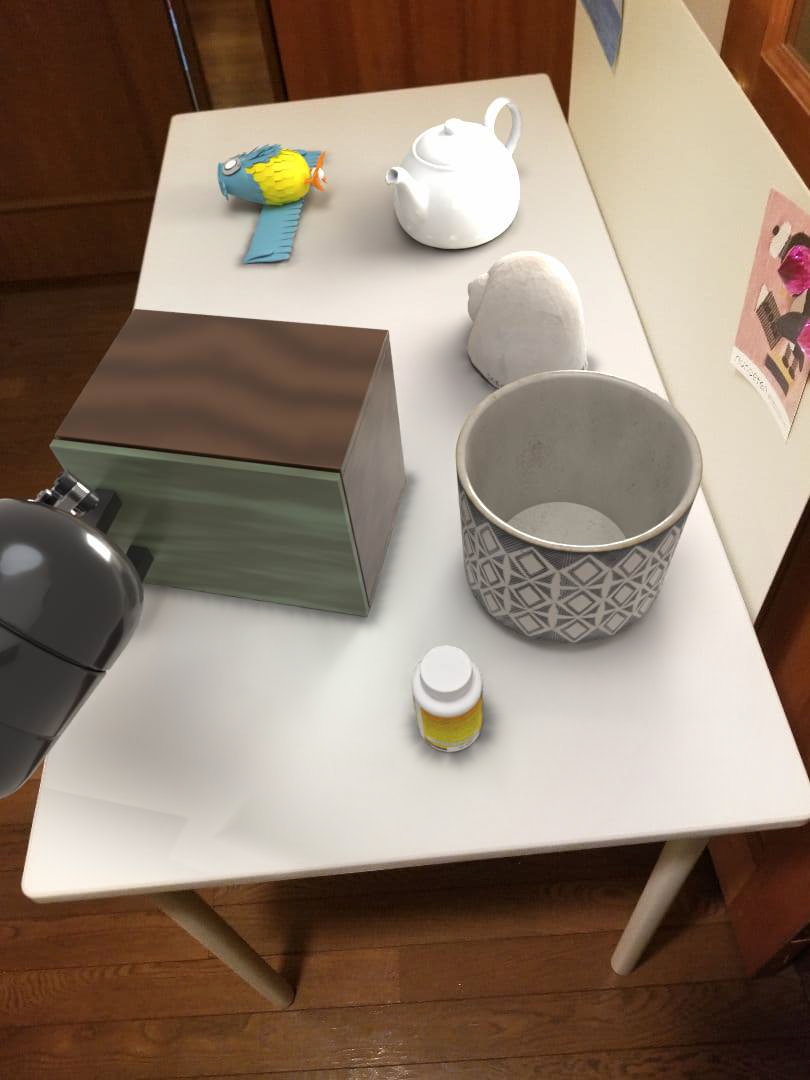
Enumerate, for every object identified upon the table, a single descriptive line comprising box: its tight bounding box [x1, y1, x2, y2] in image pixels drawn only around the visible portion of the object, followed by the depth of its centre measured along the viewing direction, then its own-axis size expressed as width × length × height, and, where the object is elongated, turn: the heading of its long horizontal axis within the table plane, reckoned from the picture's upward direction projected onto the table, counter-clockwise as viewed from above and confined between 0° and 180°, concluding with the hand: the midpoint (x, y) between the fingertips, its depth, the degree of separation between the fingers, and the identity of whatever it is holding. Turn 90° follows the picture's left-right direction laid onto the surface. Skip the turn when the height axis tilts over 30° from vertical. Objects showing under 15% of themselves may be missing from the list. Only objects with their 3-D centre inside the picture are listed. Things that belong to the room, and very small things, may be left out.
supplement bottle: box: [411, 644, 484, 753], centre depth 65 cm, size 6×6×10 cm
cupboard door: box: [48, 438, 370, 617], centre depth 68 cm, size 7×24×20 cm, turn 78°
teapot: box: [384, 96, 523, 250], centre depth 108 cm, size 19×18×14 cm
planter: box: [455, 370, 704, 644], centre depth 71 cm, size 19×19×16 cm
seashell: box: [467, 250, 589, 389], centre depth 93 cm, size 15×14×15 cm
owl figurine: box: [216, 143, 328, 265], centre depth 115 cm, size 28×9×15 cm
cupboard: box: [54, 308, 407, 609], centre depth 75 cm, size 16×24×20 cm, turn 78°
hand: (5, 552), depth 57 cm, fingers open, 8 cm apart
